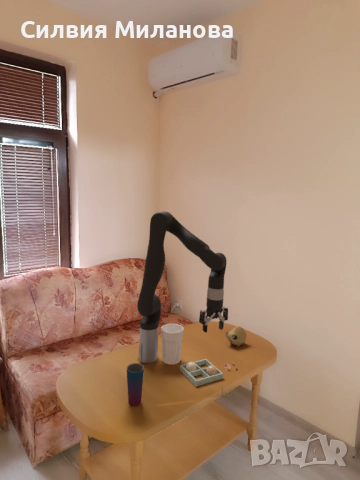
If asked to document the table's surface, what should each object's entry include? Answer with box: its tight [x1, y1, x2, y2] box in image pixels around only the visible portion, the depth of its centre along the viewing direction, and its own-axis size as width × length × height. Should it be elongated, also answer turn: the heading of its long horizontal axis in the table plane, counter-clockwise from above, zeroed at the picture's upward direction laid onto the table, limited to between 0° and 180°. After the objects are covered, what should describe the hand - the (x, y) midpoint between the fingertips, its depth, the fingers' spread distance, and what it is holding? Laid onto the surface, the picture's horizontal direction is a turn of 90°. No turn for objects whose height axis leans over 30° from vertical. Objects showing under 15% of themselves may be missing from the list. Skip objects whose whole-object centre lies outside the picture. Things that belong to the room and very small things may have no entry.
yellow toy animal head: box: [224, 325, 247, 347], centre depth 181 cm, size 10×12×11 cm
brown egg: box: [206, 365, 217, 376], centre depth 148 cm, size 5×5×5 cm
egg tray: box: [179, 358, 224, 387], centre depth 150 cm, size 15×15×3 cm
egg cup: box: [223, 362, 238, 372], centre depth 157 cm, size 6×6×2 cm
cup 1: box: [126, 362, 145, 407], centre depth 128 cm, size 7×7×15 cm
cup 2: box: [160, 323, 185, 366], centre depth 161 cm, size 11×11×17 cm
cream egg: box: [186, 361, 197, 372], centre depth 151 cm, size 5×5×5 cm
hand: (213, 330), depth 149 cm, fingers open, 8 cm apart
